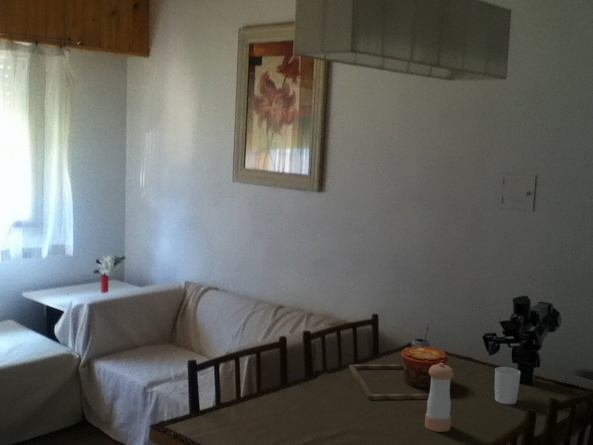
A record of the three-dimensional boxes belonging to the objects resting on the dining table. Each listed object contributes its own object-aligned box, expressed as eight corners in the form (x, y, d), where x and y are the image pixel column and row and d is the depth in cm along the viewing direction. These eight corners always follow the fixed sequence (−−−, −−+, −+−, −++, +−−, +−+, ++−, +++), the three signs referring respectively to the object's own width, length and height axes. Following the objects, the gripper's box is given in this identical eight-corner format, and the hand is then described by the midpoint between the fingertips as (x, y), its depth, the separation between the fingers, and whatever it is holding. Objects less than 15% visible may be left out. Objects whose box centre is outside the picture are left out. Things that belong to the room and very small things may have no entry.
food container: (394, 386, 236) (396, 355, 234) (405, 371, 250) (407, 342, 249) (441, 394, 230) (443, 362, 228) (450, 379, 245) (452, 349, 243)
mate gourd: (409, 363, 260) (412, 324, 258) (410, 356, 267) (412, 318, 266) (430, 365, 259) (432, 325, 257) (429, 358, 266) (432, 320, 264)
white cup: (519, 406, 222) (521, 376, 220) (493, 403, 223) (496, 373, 222) (516, 397, 229) (519, 368, 228) (492, 394, 231) (494, 365, 230)
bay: (417, 367, 256) (417, 364, 255) (445, 398, 226) (445, 395, 226) (348, 367, 252) (349, 364, 252) (368, 399, 222) (368, 396, 222)
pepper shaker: (435, 433, 199) (439, 368, 196) (419, 423, 205) (423, 360, 203) (455, 429, 202) (459, 365, 200) (439, 420, 209) (443, 357, 206)
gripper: (486, 311, 239) (468, 333, 228) (539, 307, 227) (523, 330, 215) (496, 340, 241) (478, 363, 230) (549, 337, 229) (533, 362, 217)
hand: (502, 354), depth 223 cm, fingers open, 9 cm apart
